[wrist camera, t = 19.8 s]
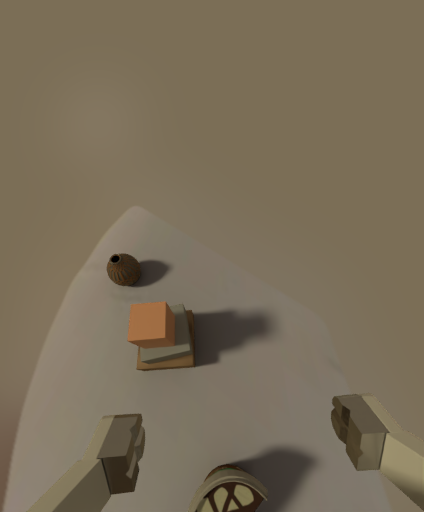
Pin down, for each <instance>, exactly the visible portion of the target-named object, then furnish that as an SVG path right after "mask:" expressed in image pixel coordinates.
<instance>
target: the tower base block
mask: <svg viewBox="0 0 424 512" xmlns="http://www.w3.org/2000/svg"><path fill="white" fill-rule="evenodd" d="M186 314H187V320H188V326H189V333H190V339H191V345H192V351H193V354H191V355H186V356H182V357H178V358H174V359H169V360H165V361H161V362H157V363H152V364H147V363H143V362H141V356H140V347H139V349H138V359H137V370H142V371H149V370H163V369H177V368H190V367H195V347H194V316H193V313H192V310H187V311H186Z"/></svg>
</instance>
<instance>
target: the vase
mask: <svg viewBox="0 0 424 512" xmlns="http://www.w3.org/2000/svg"><path fill="white" fill-rule="evenodd" d="M107 273H108V276H109V278H110V279H111V280H112V281H113V282H114V283H116V284H118V285H121V286H129V285H132V284H134V283H135V282H136V281H137V280H138V279H139V277H140V273H141V269H140V265H139V263H138V261H137V260H136V259H135V258H134V257H132V256H131V255H128V254H114V255H112V256H111V257H110V260H109V262H108V264H107Z"/></svg>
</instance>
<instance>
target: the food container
mask: <svg viewBox="0 0 424 512" xmlns="http://www.w3.org/2000/svg"><path fill="white" fill-rule="evenodd" d="M263 497H264V498H265V500H266V501H267V497H268V493H267V489H266V488H265V487H264V486H263V485H262V484H261V483H260V482H259V481H258V480H257V479H256V478H254V477H253V476H251V475H250V474H248V473H246V472H245V471H244V470H242V469H241V468H239V467H238V466H234V465H230V464H226V465H221V466H218V467H216V468H215V469H213V470H212V471H211V472H210V473H209V474H208V476H207V477H206V479H205V481H204V483H203V484H202V485H201V486H200V488H199V489H198V490H197V492H196V494H195V496H194V497H193V499H192V501H191V504H190V507H189V510H188V512H255V510H256V509H257V507H258V506H259V505H260V503H261V502H262V500H263V499H264V498H263Z"/></svg>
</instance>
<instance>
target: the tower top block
mask: <svg viewBox="0 0 424 512" xmlns="http://www.w3.org/2000/svg"><path fill="white" fill-rule="evenodd" d="M170 309H171V311H172V312H173V314H174V315H175V346H171V347H159V348H148V349H144V348H142V347H140V356H141V362H143V363H147V364H152V363H157V362H161V361H165V360H169V359H174V358H178V357H182V356H186V355H191V354H193V351H192V345H191V339H190V333H189V326H188V320H187V314H186V310H185V308H184V305H183V304H179V305H175V306H170Z"/></svg>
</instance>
